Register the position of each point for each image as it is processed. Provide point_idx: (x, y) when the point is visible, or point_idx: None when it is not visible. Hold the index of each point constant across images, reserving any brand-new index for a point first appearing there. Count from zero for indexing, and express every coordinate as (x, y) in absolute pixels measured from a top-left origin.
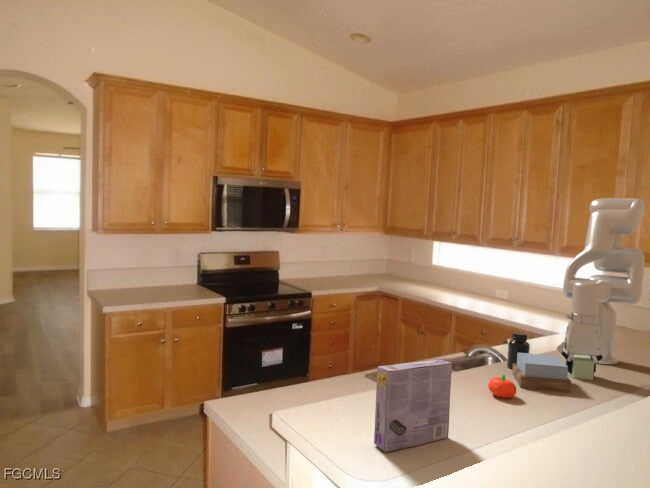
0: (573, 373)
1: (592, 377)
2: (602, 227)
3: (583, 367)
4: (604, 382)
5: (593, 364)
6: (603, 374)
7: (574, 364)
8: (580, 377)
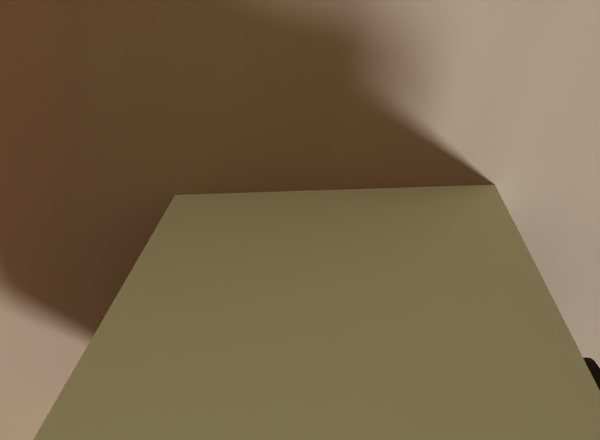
0: (513, 231)
1: (175, 216)
2: None
3: (328, 330)
4: (8, 122)
5: (68, 406)
6: (32, 437)
7: (572, 375)
8: (373, 199)
